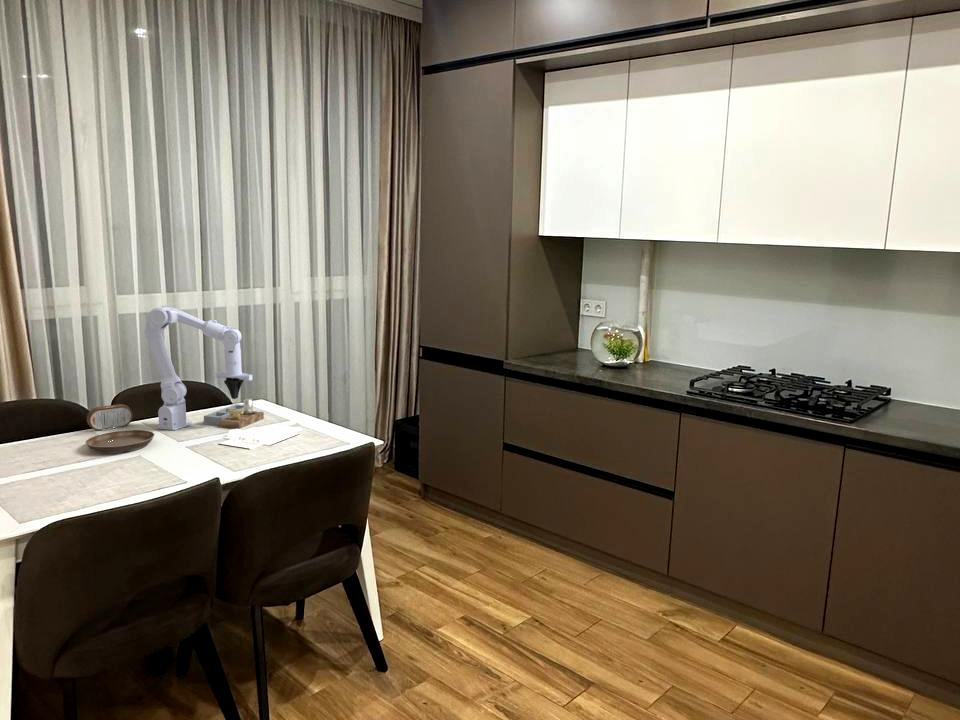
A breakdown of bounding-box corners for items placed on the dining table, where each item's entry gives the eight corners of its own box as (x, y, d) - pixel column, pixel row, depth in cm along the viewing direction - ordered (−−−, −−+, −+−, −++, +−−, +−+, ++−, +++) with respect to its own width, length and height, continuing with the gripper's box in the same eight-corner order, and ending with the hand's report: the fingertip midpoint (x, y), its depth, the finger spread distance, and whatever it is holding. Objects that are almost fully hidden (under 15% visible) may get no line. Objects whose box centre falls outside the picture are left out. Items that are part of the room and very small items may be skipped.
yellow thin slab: (242, 424, 269) (241, 411, 268) (228, 423, 271) (227, 410, 270) (244, 423, 270) (243, 410, 269) (230, 422, 272) (229, 409, 271)
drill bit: (250, 421, 276) (249, 400, 275) (242, 420, 277) (241, 400, 276) (254, 419, 279) (254, 399, 278) (247, 418, 280) (246, 398, 279)
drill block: (239, 428, 266) (238, 422, 265) (220, 427, 268) (219, 420, 267) (263, 418, 281) (263, 412, 280) (245, 416, 283) (245, 410, 283)
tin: (132, 424, 271) (130, 402, 269) (134, 426, 268) (132, 403, 267) (87, 430, 261) (85, 408, 260) (89, 432, 259) (87, 409, 257)
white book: (310, 431, 265) (309, 422, 264) (258, 455, 240) (257, 444, 239) (265, 425, 273) (264, 416, 272) (210, 448, 248) (209, 437, 247)
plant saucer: (72, 450, 239) (71, 440, 238) (128, 435, 257) (127, 426, 256) (113, 460, 229) (112, 449, 229) (168, 443, 248) (168, 434, 247)
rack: (220, 425, 270) (219, 417, 270) (204, 423, 272) (203, 415, 272) (251, 412, 289) (251, 405, 289) (236, 411, 291) (235, 404, 291)
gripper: (256, 361, 268) (258, 397, 271) (222, 359, 272) (224, 394, 275) (245, 364, 262) (247, 401, 264) (210, 362, 266) (212, 398, 268)
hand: (234, 398), depth 269 cm, fingers closed
